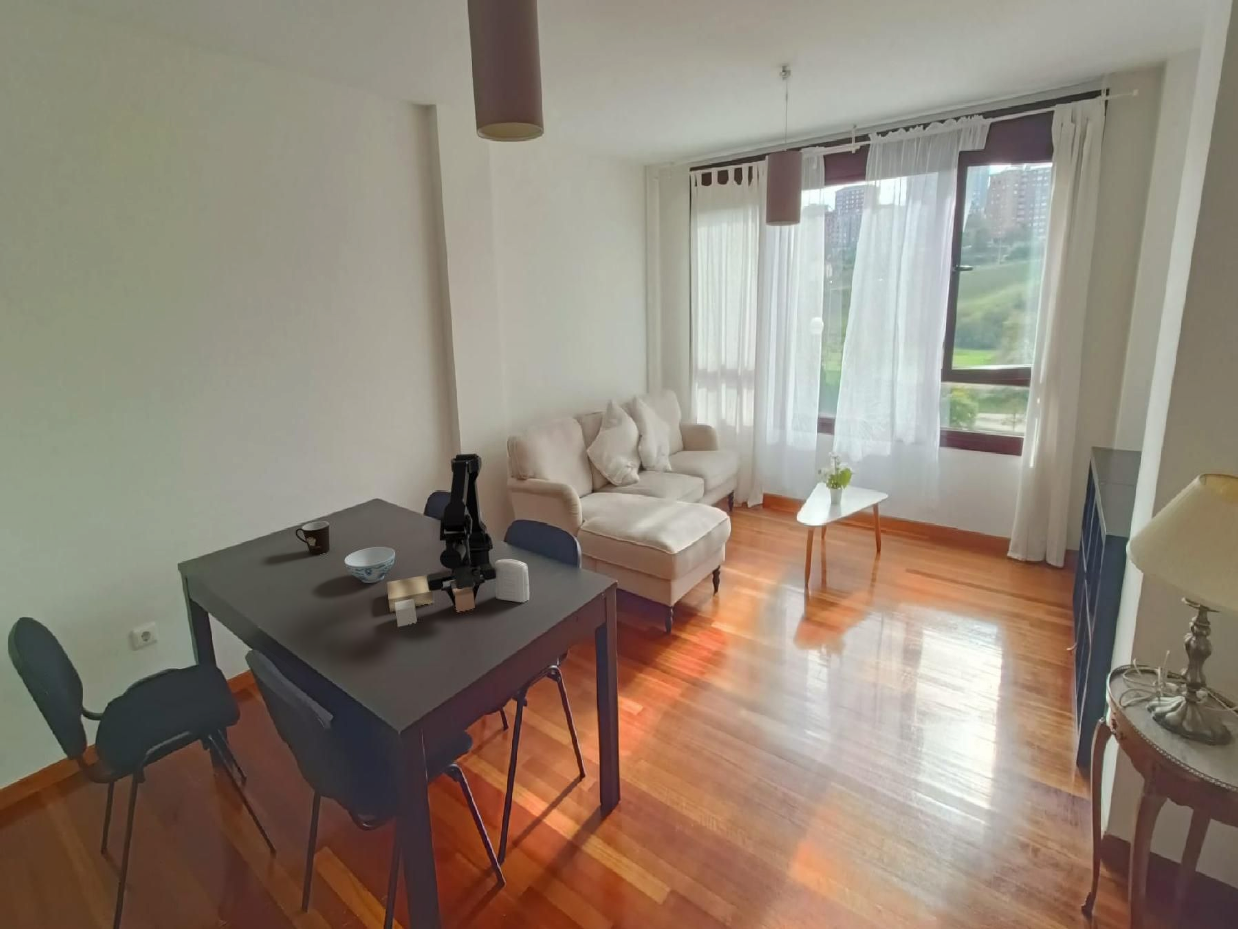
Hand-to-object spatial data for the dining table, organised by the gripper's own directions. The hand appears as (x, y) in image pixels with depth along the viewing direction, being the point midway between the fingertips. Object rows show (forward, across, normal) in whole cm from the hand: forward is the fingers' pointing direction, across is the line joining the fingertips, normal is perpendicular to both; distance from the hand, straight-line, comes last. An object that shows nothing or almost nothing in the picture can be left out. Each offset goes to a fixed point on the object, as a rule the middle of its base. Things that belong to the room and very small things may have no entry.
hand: (464, 603), depth 177 cm
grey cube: (+1, -16, -1) cm, 16 cm away
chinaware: (+1, -24, +32) cm, 40 cm away
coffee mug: (+1, -42, +65) cm, 77 cm away
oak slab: (+1, -14, +12) cm, 18 cm away
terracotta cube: (+1, 0, 0) cm, 1 cm away
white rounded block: (+1, +14, -1) cm, 14 cm away
